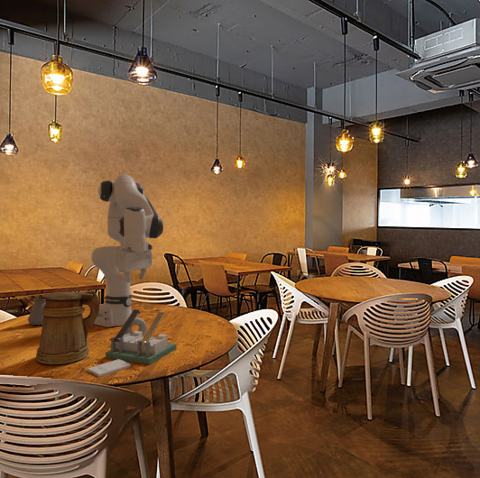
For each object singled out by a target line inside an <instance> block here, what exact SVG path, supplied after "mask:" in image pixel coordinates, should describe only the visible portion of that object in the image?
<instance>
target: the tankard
mask: <svg viewBox="0 0 480 478" xmlns="http://www.w3.org/2000/svg"><path fill="white" fill-rule="evenodd" d="M40 298H43V299H46V303H45V306H44V307H43V310H42V311H43V312H42V315H44V317H43V324H42V326H41V333H40V339H39V345H38V348H37V349H36V355H35V360H36V362H38V363H40V364H44V365H66V364H70V363H75V361H76V362H78V361H82V360H83V359H84V358H86V357H87V356H88V355H89V350H90V348H89V344H88V342H87V341H88V335H89V332H90V329H91V328H92V326H93V325H94V324H93V323H94V322H95V320H96V318H97V316H98V313H99V309H100V306H101V305H100V304H101V303H100V298H99V297H98V295H97V293H96V290H95V289H91V290H86V291H72V292H71V291H63V292H62V291H61V292H59V291H57V292H50V293H46V294H45V293H44V294H42V295H41V296H40ZM83 306H88V307H89V311H90V312H89V314H88V315H87V316H86V317H85V318H84V316H83V313H84V312H85V311H86V308H85V307H83Z"/></svg>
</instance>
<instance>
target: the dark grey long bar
mask: <svg viewBox="0 0 480 478" xmlns="http://www.w3.org/2000/svg"><path fill="white" fill-rule="evenodd" d="M140 314H141V311H140V309H133V310H132V313H131V315H130V316H129V318H128V319H127V321H126V322H125V324H124V325H122V327H121V328H120V330H119V331H118V333H117V335H116V336H114V337H115V338H114V341H115V342H119V339H120V338H123V336H124V335H125V333H126V331H127V330H128V328H129V327H130V325H131V324H132V322H133V321H134V319H135V318H136V317H138V315H140Z"/></svg>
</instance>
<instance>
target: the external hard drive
mask: <svg viewBox="0 0 480 478" xmlns="http://www.w3.org/2000/svg"><path fill="white" fill-rule="evenodd" d="M131 367H132V366H131V363H129V362H128V361H125V360H120V359H113V360H111V361H108V362H105V363H102V364H98V365H94V366H92V367H88V368H87V369H86V371H87V372H88V373H90V374H93V375H95V376H96V377H98V378H100V377H103V376H107V375H109V374H113V373H116V372H119V371H120V372H121V371H122V370H126V369H129V368H131Z"/></svg>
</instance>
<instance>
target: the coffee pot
mask: <svg viewBox="0 0 480 478" xmlns="http://www.w3.org/2000/svg"><path fill="white" fill-rule="evenodd" d="M70 292H73V291H70ZM33 302H34V303H33V307H32V309H31V310H30V311H31V312H30V313H29V315H28V318H27V321H28V323H29V324H30V325H32V324H33V325H42V324H43V317H44V315H42V312H43V311H42V310H43V307H44V306H45V303H46V299H43V298H41V297H36V298H33ZM33 325H32V326H33Z"/></svg>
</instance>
